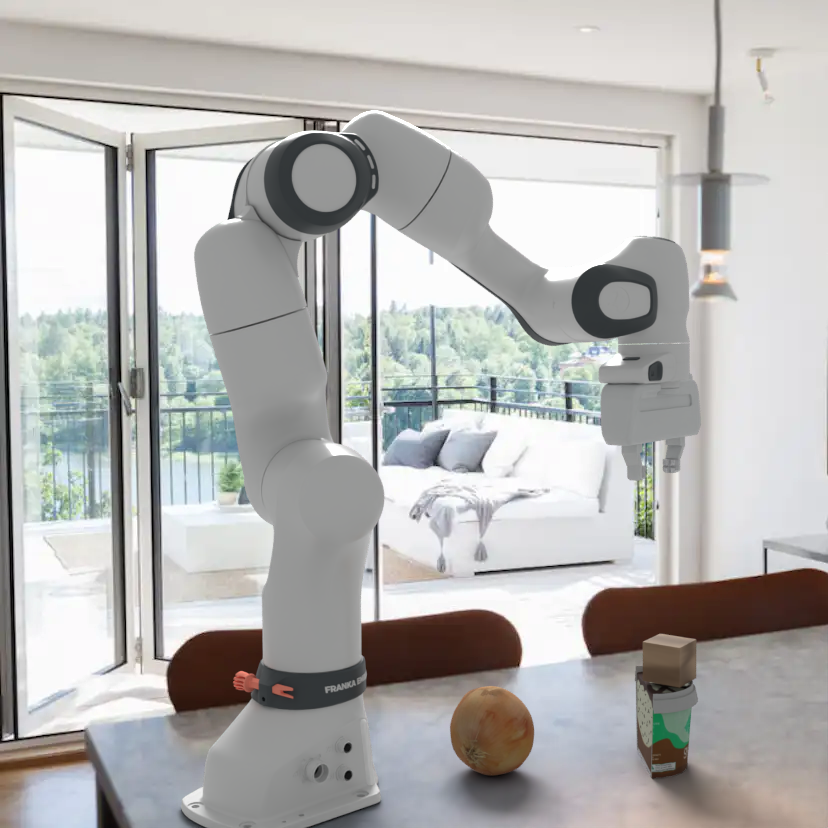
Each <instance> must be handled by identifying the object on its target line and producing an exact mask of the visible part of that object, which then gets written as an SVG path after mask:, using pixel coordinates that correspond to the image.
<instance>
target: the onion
mask: <svg viewBox="0 0 828 828" xmlns="http://www.w3.org/2000/svg"><path fill="white" fill-rule="evenodd" d="M527 707H528V706H526V704H525V703H524V702H523V700H522V699H521V698H519V697H518V696H517V695H516V694H514V693H513V692H512V691H509V690H508V689H506V688H503V687H500V686H494V685H488V686H481V687H476V688H473V689H470V690H469V691H467V692H466V693H465V694H464V695H463V697H462V698H461V699H460V701H459V702H458V704H457V706H456V708H455V709H454V711H453V713H452V716H451V719H450V723H449V731H450V742H451V745H452V749H453V751H454V753H455V756H457V757H458V759H459V760H460V761H461V762H462V763H463V764H465V765H466V766H467V767H468V768H470V769H471V770H472V771H474V772H477V773H479V774H481V775H485V776H498V775H499V776H500V775H504V774H509V773H510V772H513V771H515V770H517V769H519V768H521V766H522V765H523V764H524V763H525V761H526V760H527V759H528V757H529V756H530V754H531V752H532V750H533V747H534V741H535V740H534V739H535V725H534V720H533V717H532V715H531V713H530V711H529V709H528V708H527Z"/></svg>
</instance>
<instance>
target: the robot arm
mask: <svg viewBox="0 0 828 828" xmlns="http://www.w3.org/2000/svg"><path fill="white" fill-rule="evenodd" d="M490 184H491V183H490V181H489V180H488V179H487V178H486V177H485V175H484V174H483V173H482V172H481V171H480V170H479V168H477V167H476V166H475V165H474V164H473V163H472V162H471V161H469V160H468V159H467V158H465V157H464V156H462V155H461V154H460V153H458V152H457V151H455V150H454V149H452V148H451V147H450V146H448V145H447V144H445V143H444V142H442V141H441V140H439V139H437V137H435V136H433V135H432V134H430V133H428V132H426V131H424V130H422V129H421V128H419V127H418V126H415V125H413V124H411V123H410V122H407V121H405V120H403V119H402V118H401V119H400V118H399V117H396V116H394V115H391V114H389V113H387V112H384V111H380V110H368V111H364V112H362V113H360V114H359V115H356V116H355V117H354V118H352V119H351V120H349V122H347V124H346V125H345V126H344V127H343V129H342V130H341V132H335V131H334V132H333V131H325V130H304V131H300V132H296V133H293V134H291V135H289V136H286V137H284V139H280V140H276V141H274V142H272V143H270V144H267V145H266V146H265V147H264V148H263V149H261V150H260V151H259V152H257V154H256V155H255V156H253V157H252V158H251V159H249V160H248V161H247V162H246V164H244V165H243V167H242V168H241V169H240V171H239V173H238V175H237V177H236V179H235V183H234V186H233V192H232V197H231V202H230V207H229V211H228V216H227V219H226V220H224V221H221V222H218V223H216V224H215V225H213V226H211V227H210V228H209V229H208V230H207V231H205V233H203V234H202V236H200V238H199V239H198V241H197V243H196V245H195V247H194V252H193V254H194V255H193V258H194V268H195V277H196V284H197V285H196V286H197V290H198V295H199V302H200V306H201V309H202V314H203V317H204V321H205V325H206V328H207V332H208V335H209V338H210V341H211V345H212V348H213V351H214V354H215V358H216V361H217V363H218V364H217V365H218V368H219V371H220V374H221V377H222V381H223V383H224V387H225V390H226V393H227V396H228V400H229V404H230V408H231V413H232V419H233V423H234V424H233V425H234V430H235V431H234V432H235V438H236V439H235V440H236V444H237V450H238V454H239V455H238V456H239V461H240V464H241V469H242V470H241V471H242V474H243V484H244V485H243V486H244V490H245V492H246V496H247V499H248V500H249V503H250V505H251V507H252V508H253V510H254V511H255V512H256V514H257V515H258V516H259V517H260V518H261V519H262V520H263V521H265V522H267V523H268V524H270V525H271V526H272V528H273V542H272V551H271V558H270V564H269V569H268V573H267V578H266V583H265V584H264V586H263V588H262V591H261V592H262V593H261V619H262V620H261V621H262V623H261V627H262V659H260V662H259V664H258V668H257V670H256V674H254V673H248V672H246V671H243V670H240V671H238V672H236V673H235V676H234V677H233V679H232V680H234V681H233V682H232V684H233V687H235V690H238V691H245V692H246V693H250V697H251V699H250V700H249V702H248V703H247V704H246V705H245V706H244V708H243V709H242V710H241V711H240V713H239V714H238V715H237V716H236V718H235V719H234V720H233V721H232V722H231V723H230V725H229V726H228V727H227V728H226V729H225V731H223V733H222V734H221V735H220V736H219V738H218V739H217V740H216V741H215V742H214V743H213V744H212V746H210V748H209V750H208V752H207V755H206V759H205V763H204V771H203V781H202V783H203V784H202V785H201V787H199V788H197V789H196V790H194V791H192V792H190V793H189V794H186V795H185V796H184V797H182V799H181V803H180V807H181V810H182V813H183V815H185V816H186V817H187V818H188V819H189V820H191V821H192V822H194V823H196V824H198V825H200V826H202V827H204V828H309V827H311V826H314V825H318V824H320V823H323V822H327V821H329V820H332V819H335V818H337V817H340V816H343V815H347V814H349V813H352V812H355V811H358V810H360V809H363V808H367V807H370V806H373V805H375V804H378V803H380V802H381V800H382V797H381V789H380V787H379V786H378V784H379V783H378V782H379V776H378V774H377V770H376V768H375V764H374V759H373V749H372V742H371V735H370V734H371V733H370V727H369V721H368V717H367V713H366V708H365V703H364V693H365V692H366V690H367V675H368V673H367V669H366V659H365V656H363V655H362V587H363V580H364V574H365V568H366V562H367V558H368V551H369V547H370V542H371V537H372V532H373V530H374V529H375V527H376V525H377V524H378V522H379V520H380V519H381V516H382V514H383V511H384V506H385V489H384V486H383V482H382V479H381V476H380V475H379V473H378V472H377V470H376V469H375V468H374V467H373V466H372V465H371V463H370V462H368V460H367V459H366V458H364V457H363V456H362V454H360V453H359V452H357V451H356V450H355V449H354V448H352V447H349V446H347V445H345V444H340V443H336V442H334V439H333V437H332V433H331V431H330V430H331V429H330V424H329V414H328V406H327V393H326V391H327V383H328V370H327V369H326V365H325V361H324V359H323V353H322V351H321V348H320V344H319V341H318V337H317V334H316V331H315V328H314V323H313V321H312V317H311V314H310V310H309V307H307V306H308V304H307V301H306V298H305V295H304V292H303V291H304V290H303V289H302V286H301V283H300V280H299V276H300V275H299V271H298V260H299V259H298V258H299V253H300V250H301V247H302V245H303V244H304V243H306V242H310V241H314V240H316V239H319V238H321V237H323V236H326V235H327V234H330V233H333V232H335V231H337V230H339V229H341V228H343V226H345V225H346V224H348V223H349V222H350V221H351V220H352V219H353V218H354V217H355V216H357V214H358V213H359V211H365V212H367V213H368V214H369V213H370V214H372V215H374V216H377V217H378V218H379V219H381V220H382V221H383V222H384V223H386V224H388V225H389V226H390V227H391V228H394V229H395V230H396V231H397V232H400V233H401V234H403V235H404V236H405V237H407V238H409V239H411V240H412V241H414V242H415V243H417V244H419V245H420V246H422V247H424V248H426V249H427V250H429V251H431V252H433V253H434V254H437V255H438V256H440V257H441V258H442V259H444V260H445V261H448V263H450V264H451V265H453V266H454V268H456V269H458V271H460V272H461V273H463V274H464V275H465V276H466V277H468V278H470V279H471V280H472V281H474V283H476V284H477V285H479V286H481V288H483V289H484V290H486V291H487V292H488V293H490V294H491V295H492V296H494V297H495V298H497V299H498V300H499V301H500V302H502V303H503V304H504V305H505V307H507V308H508V309H509V310H510V312H511V313H512V314H513V316H514V317H515V319H516V321H517V322H518V324H519V325H520V326H521V327H522V329H523V331H524V332H525V333H526V334H527V335H528V337H530V338H531V339H532V340H533V341H536V343H539V344H541V345H545V346H551V347H557V346H564V345H568V344H575V343H577V344H579V343H581V344H583V343H596V342H598V343H599V342H606V341H612V340H614V339H617V353H615V354H614V355H613V356H612V357H611V358H610V359H608V360H607V361H606V362H604V363H603V364H601V365H600V366H599V368H598V381H599V383H601V384H605V385H604V386H603V387H602V389H601V393H600V426H601V427H600V428H601V430H600V431H601V434H602V435H601V436H602V438H603V440H604V442H605V444H606V445H608V446H617V447H618V446H621V454H622V457H623V460H624V463H625V464H626V472H627V473H626V475H627V476H626V477H627V479H628V480H629V481H633V482H634V481H635V482H638V481H642V480H645V478H646V477H647V475H646V468H647V467H646V465H644V464H643V460H642V457H641V453H642V452H643V444H648V443H653V442H654V443H655V442H659V441H665V445H666V446H667V448H666V452H665V453H666V454H665V458H662V471H663V472H664V473H665V474H674V473H679V472H680V471H681V459H682V455H683V452H684V449H685V447H686V437H692V436H696V435H698V434H699V433H700V431H701V430H700V429H701V425H702V423H701V422H702V421H701V420H702V418H701V403H700V392H699V387H698V384H697V382H696V381H695V380H694V379H693V375H692V373H691V372H690V364H691V361H690V360H691V359H690V358H691V357H690V354H691V353H690V351H691V350H690V337H689V333H688V330H687V320H688V314H689V312H690V284H689V269H688V264H687V259H686V258H687V257H686V256H685V253H684V250H683V248H682V246H681V245H680V244H678V243H676V241H673V240H671V239H667V238H665V237H659V236H647V235H639V236H638V235H636V236H630V237H627V238H625V239H624V240H623V241H622V243H621V244H620V245H619V246H618V247H616V248H615V249H613V250H612V251H610V252H608V253H607V254H605V255H603V256H601V257H599V258H597V259H594V260H592V261H590V262H588V263H583V264H579V265H573V266H567V267H566V266H565V267H548V266H543V265H539V264H537V263H535V262H533V261H532V260H530V259H529V258H528V257H526V256H525V255H524V254H522V253H521V252H520V251H519V250H517V248H515V247H513V246H512V245H511V244H510V243H508V242H507V241H506V240H505V239H503V238H502V237H500V236H499V235H498V234H497V233H496V232H495V231H494V230H493V229H492V228H491V226H490V224H489V223H490V220H491V218H492V215H493V209H494V196H493V195H494V194H493V191H492V187H491V185H490Z"/></svg>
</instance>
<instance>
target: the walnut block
mask: <svg viewBox="0 0 828 828" xmlns="http://www.w3.org/2000/svg"><path fill="white" fill-rule="evenodd" d="M642 666H643V681H647V682H652V683H657V684H663V685H668V686H673V687H678V688H680V687H682V686H683V685H685V684H687V683H689V682H690V681H694V680H695V679H697V639H696V638H690V637H684V636H677V635H672V634H670V635H669V634H667V633H666V634H665V633H659V634H656V635H654V636H652V637H650V638H648V639H645V640H644V641H642Z"/></svg>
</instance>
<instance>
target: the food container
mask: <svg viewBox="0 0 828 828" xmlns="http://www.w3.org/2000/svg"><path fill="white" fill-rule="evenodd" d="M693 681H694V680H692V681H690V682H689V683H687V684H685V685H683V686H682V687H680V688H678V687H673V686H668V685H663V684H657V683H652V682H647V681H643V665H635V671H634V682H635V707H636V708H635V716H636V717H635V719H636V724H635V725H636V749H637V752H638V754H639V755H640V758H641V760H642V762H643V764H644V766H645V769H646V771H647V772H648V774H649V776H650V779H664V778H669V777H674V776H678V775H680V774H682V773H683V772H685V771H686V770H687V769H688V762H689V761H688V760H689V759H688V758H689V747H690V734H691V720H692V709H693V707H695V705H697V703H698V702H699V697H698V693H697V688H696V686H695V684H694V682H693Z"/></svg>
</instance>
